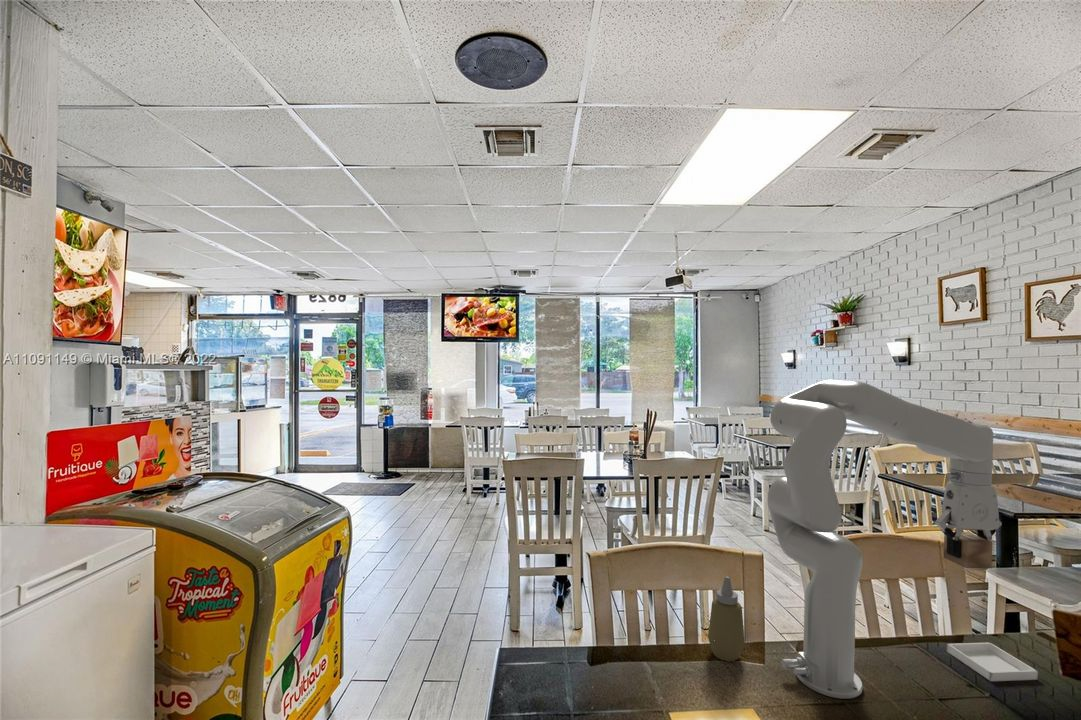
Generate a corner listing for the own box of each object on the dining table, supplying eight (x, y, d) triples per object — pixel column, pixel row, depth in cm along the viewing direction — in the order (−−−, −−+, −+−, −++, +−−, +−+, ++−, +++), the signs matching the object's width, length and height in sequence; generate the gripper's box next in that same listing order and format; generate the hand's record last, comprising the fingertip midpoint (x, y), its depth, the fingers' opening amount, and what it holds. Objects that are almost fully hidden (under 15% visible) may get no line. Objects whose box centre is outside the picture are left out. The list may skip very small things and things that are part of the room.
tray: (990, 683, 109) (991, 672, 109) (946, 653, 120) (947, 643, 120) (1037, 681, 110) (1037, 671, 110) (989, 651, 120) (989, 642, 120)
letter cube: (966, 568, 114) (967, 541, 114) (943, 557, 120) (944, 532, 120) (991, 568, 115) (992, 541, 115) (967, 557, 121) (968, 532, 121)
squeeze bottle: (738, 670, 112) (740, 589, 112) (702, 656, 117) (703, 578, 117) (748, 653, 119) (750, 576, 118) (714, 640, 123) (715, 567, 123)
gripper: (949, 481, 113) (946, 562, 113) (1021, 482, 114) (1018, 562, 114) (921, 473, 120) (918, 549, 121) (989, 474, 122) (986, 549, 122)
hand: (967, 554), depth 117 cm, fingers closed on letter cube, 6 cm apart
